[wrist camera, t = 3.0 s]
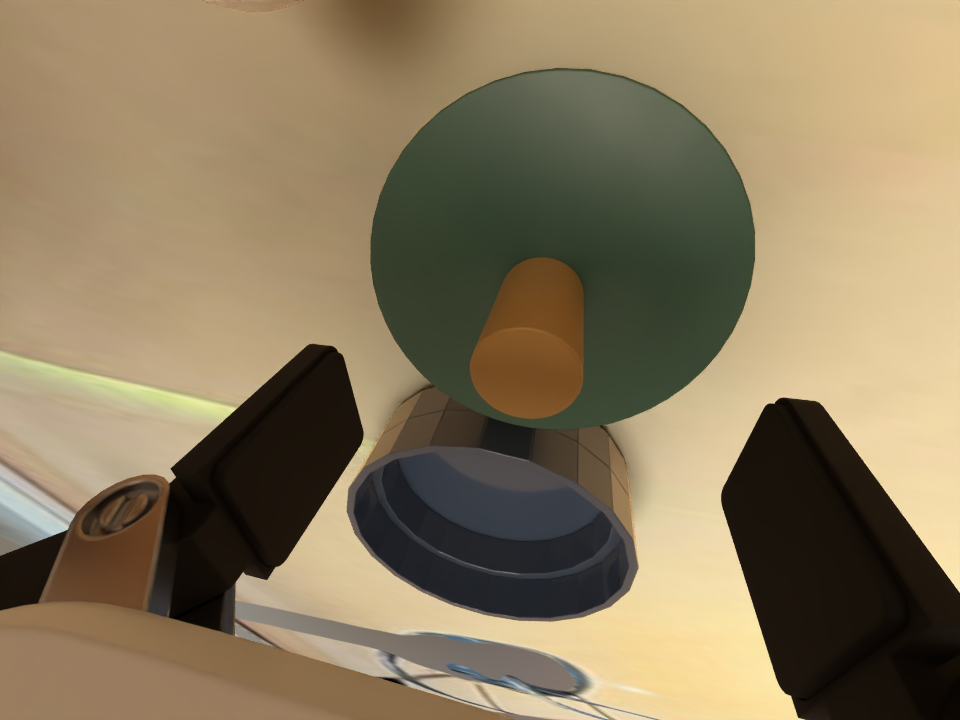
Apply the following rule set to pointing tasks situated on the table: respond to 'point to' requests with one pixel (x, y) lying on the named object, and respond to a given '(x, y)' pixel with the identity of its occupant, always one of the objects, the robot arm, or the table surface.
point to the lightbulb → (254, 4)
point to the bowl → (497, 512)
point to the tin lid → (562, 248)
